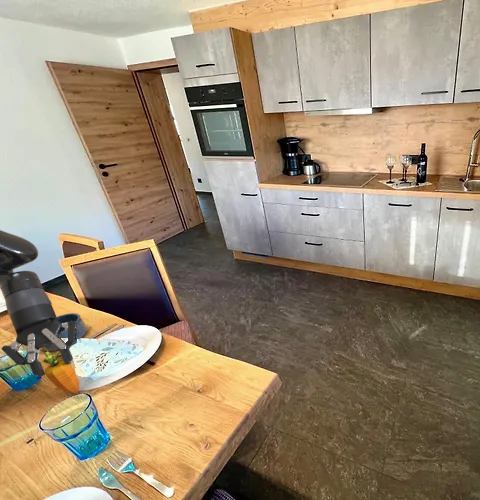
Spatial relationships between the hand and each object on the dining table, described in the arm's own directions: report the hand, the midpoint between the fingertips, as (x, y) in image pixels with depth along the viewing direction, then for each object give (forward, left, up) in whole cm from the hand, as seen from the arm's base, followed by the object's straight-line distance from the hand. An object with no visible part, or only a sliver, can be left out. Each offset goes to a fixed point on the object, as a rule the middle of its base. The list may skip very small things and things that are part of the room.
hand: (55, 369), depth 73 cm
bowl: (-10, +31, -11) cm, 34 cm away
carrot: (-1, +2, -11) cm, 11 cm away
